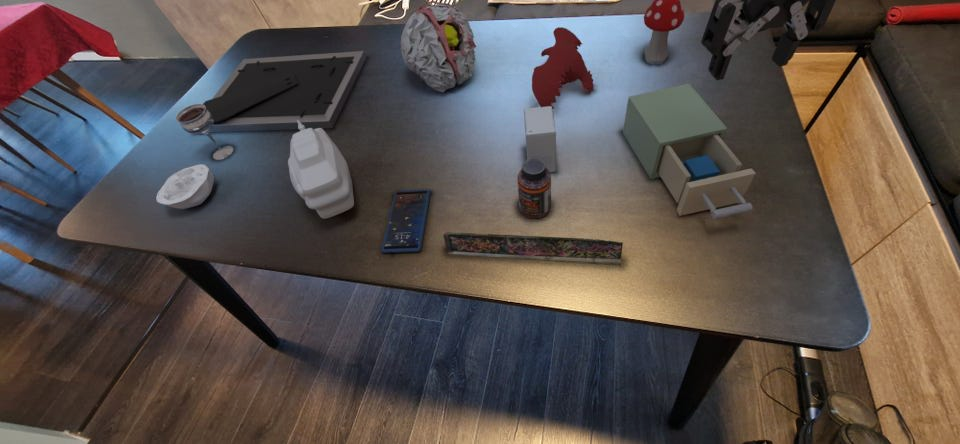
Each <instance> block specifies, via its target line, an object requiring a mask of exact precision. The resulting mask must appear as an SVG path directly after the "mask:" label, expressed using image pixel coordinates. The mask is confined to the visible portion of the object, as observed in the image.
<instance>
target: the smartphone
mask: <svg viewBox="0 0 960 444" xmlns="http://www.w3.org/2000/svg"><path fill="white" fill-rule="evenodd" d="M430 197H431V190H430V189H414V190H397V191H395V192H394V194H393V198H392V202H391V206H390V211H389V215H388V220H387V224H386V229H385V230H384V231H385V232H384V236H383V239H382V245H381V249H380V250H381V253H383V254H394V253H398V254H399V253H419V252H421V250H422V246H423V240H424V235H425V228H426V222H427V216H428V209H429V205H430V204H429V203H430Z"/></svg>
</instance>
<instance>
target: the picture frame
mask: <svg viewBox="0 0 960 444" xmlns="http://www.w3.org/2000/svg"><path fill="white" fill-rule="evenodd" d="M366 60H367V55H366V53H365V51H364V50H359V51H357V50H356V51H343V52H328V53H313V54H300V55H299V54H298V55H284V56H283V55H282V56H269V57H255V58H254V57H253V58H244V59H242V60H241V62H240V63H238V65H237V66H236V68H235V69H234V70H233V72H232V73H231V74H230V76H229V77H228V78H227V79H226V81H225V82H224V83H223V84H222V86H221V87H220V89H219V90H218V91H217V92H216V93H215V95H213V97H212V98H210V99H208V100H205V101H204V102H202V104H203V105H205V107H206V110H208V111H209V112H210V113H211V114H212V116H213V118H214V123H213V127H212V128H211V129H210V132H209V133H210V134H211V133H233V132H234V133H237V132H238V133H239V132H259V131H260V132H262V131H263V132H264V131H265V132H266V131H288V130H289V131H291V130H293V131H294V130H299V129H298V122H297V120H298V121H300V123H301V124H302V125H304V126H305V129H308V128H312V129H317V128H322V129H323V130H324V129H333V128H334V126H335V125H336V122H337V120H338V118H339V116H340V114H341V113H342V110H343V108H344V106H345V103H346V101H347V99H348V97H349V96H350V93H351V91H352V89H353V87H354V85H355V83H356V81H357V78H358V76H359V74H360V72H361V70H362V68H363V66H364V64H365V61H366Z"/></svg>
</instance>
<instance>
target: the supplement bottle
mask: <svg viewBox="0 0 960 444" xmlns="http://www.w3.org/2000/svg"><path fill="white" fill-rule="evenodd" d="M516 179H517V193H518V194H517V195H518V206H519V210H520V212H521V213H522V215H524V216H525V217H526V218H530V219H540V218H544V217H545V216H547V214H548V213H550V211H551V209H552V174H551V172H549V170H548V169H547V168H546V165H545V162H544V161H543V160H541V159H539V158H529V159H525V160H524V161H523V163H522V165H521V169H520V170H519V171H518V173H517V178H516Z"/></svg>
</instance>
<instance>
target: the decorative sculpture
mask: <svg viewBox="0 0 960 444" xmlns="http://www.w3.org/2000/svg"><path fill="white" fill-rule="evenodd" d="M430 4H431V5H430ZM400 38H401V39H400V45H399V47H400V51H401V56H402V58H403V62H404V64H405V65H406V67H407V68H408V70H410V71H412V72H413V73H415V74H416V75H417V76H418V77H420V79H422V80H423V81H424V82H425V83H426V85H427V86H429V87H430V88H432V89H433V90H434V91H437V92H440V93H445V91H446V90H448V89H452V88H455V86H456V85H458V86H461V84H463V83H464V82H465V81H468V80H470V79H471V78H472V75H473V73H474V70H475V69H474V68H475V61H476V51H475V48H477V45H476V43H475V41H474V38H475V36H474V32H473V29H472V28H471V26H470V22H469V20H468V17H467V16H466V15H465V14H464V13H463V12H462V11H461V10H460V9H459V8H457V7H456V6H453V5H452V4H450V3H448V2H440V1H439V2H438V1H436V0H430V1H428V2H426V3H425V4H423V5H421V6H420V7H419V8H418V9H416V11H414V12H413V14H411V16H409V18H408V20H407V21H406V23H405V25H404V28H403V30H402V33H401V36H400ZM423 81H420V83H422V84H424V82H423Z"/></svg>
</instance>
